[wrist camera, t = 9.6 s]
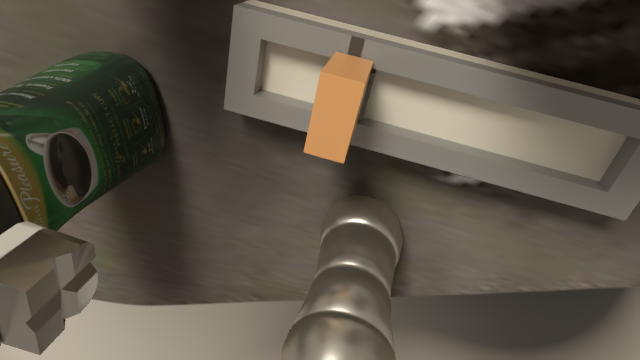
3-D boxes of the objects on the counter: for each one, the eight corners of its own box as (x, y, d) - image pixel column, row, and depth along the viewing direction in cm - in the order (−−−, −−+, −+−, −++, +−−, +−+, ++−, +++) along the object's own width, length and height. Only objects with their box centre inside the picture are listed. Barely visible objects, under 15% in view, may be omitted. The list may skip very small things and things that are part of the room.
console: (663, 105, 28) (694, 125, 24) (604, 194, 31) (626, 221, 28) (252, -1, 29) (233, 5, 26) (241, 94, 33) (223, 109, 30)
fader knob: (380, 56, 28) (370, 84, 22) (361, 124, 30) (348, 165, 24) (335, 45, 28) (314, 69, 22) (320, 113, 30) (298, 150, 24)
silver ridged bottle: (378, 172, 34) (338, 405, 17) (417, 236, 36) (419, 502, 19) (312, 203, 36) (218, 432, 19) (352, 261, 38) (300, 514, 21)
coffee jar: (63, 49, 34) (-249, 138, 18) (151, 48, 33) (-103, 143, 17) (98, 159, 39) (-126, 307, 23) (178, 162, 37) (-3, 323, 21)
